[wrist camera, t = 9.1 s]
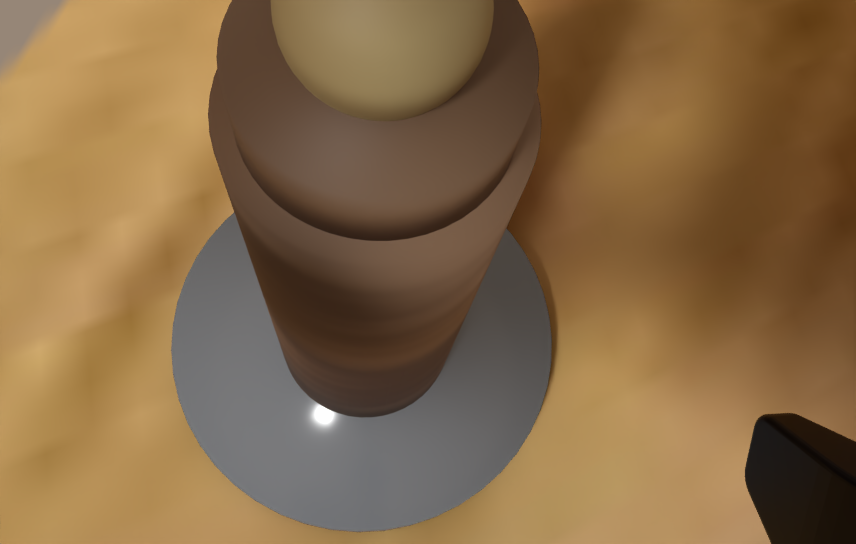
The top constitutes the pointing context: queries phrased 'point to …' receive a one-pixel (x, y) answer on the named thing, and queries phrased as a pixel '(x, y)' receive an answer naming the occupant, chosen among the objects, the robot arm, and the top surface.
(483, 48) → the pepper mill
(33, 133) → the top surface
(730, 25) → the top surface
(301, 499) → the slate coaster
